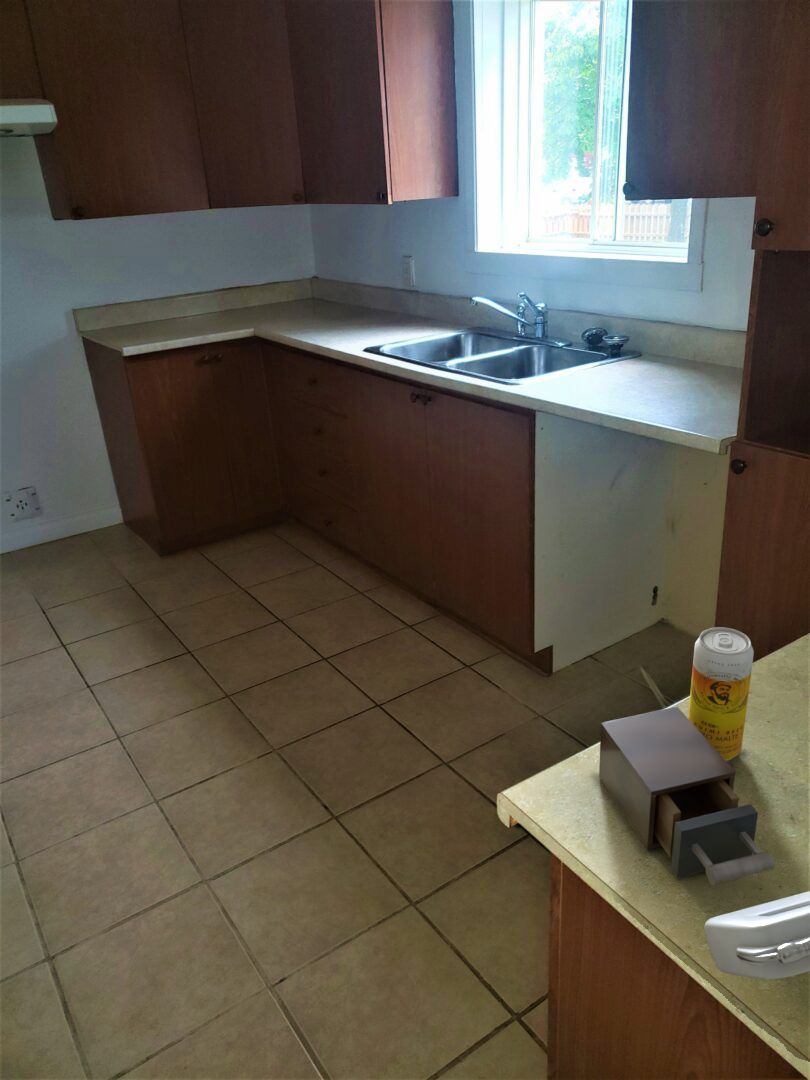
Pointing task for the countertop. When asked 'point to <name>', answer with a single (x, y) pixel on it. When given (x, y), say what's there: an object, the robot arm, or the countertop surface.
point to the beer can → (721, 688)
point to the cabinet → (655, 763)
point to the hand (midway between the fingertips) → (788, 909)
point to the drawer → (709, 833)
